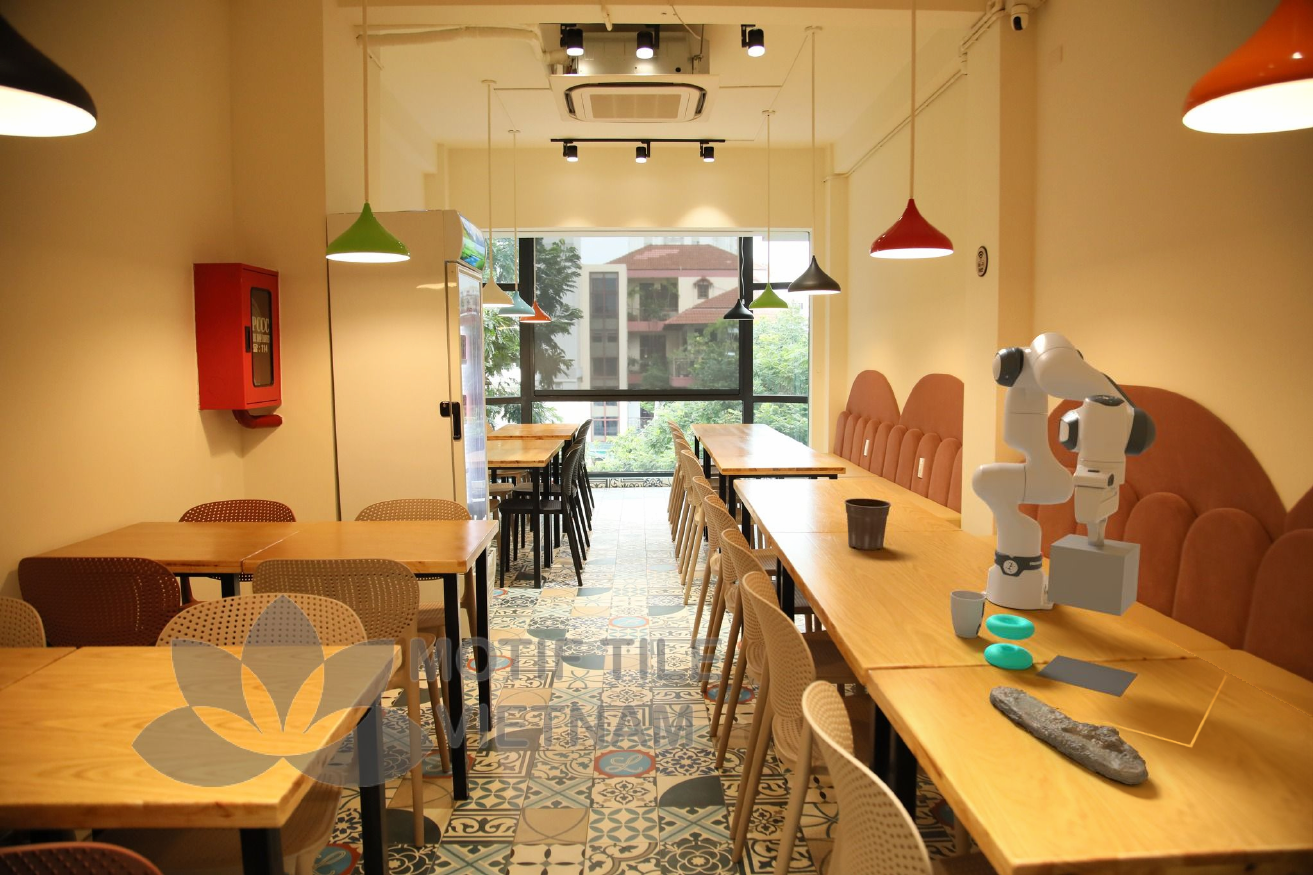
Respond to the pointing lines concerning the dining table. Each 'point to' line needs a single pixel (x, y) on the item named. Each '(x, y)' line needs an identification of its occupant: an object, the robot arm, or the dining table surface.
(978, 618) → the cup
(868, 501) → the plant pot
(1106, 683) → the mat
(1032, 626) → the donuts
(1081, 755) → the elongated rock
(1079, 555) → the cover
